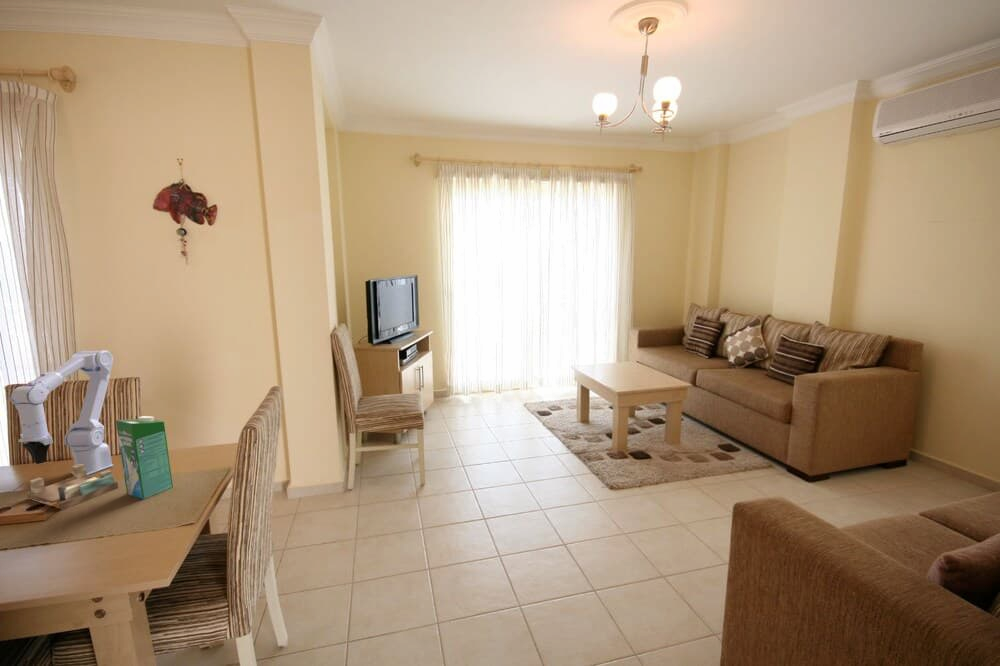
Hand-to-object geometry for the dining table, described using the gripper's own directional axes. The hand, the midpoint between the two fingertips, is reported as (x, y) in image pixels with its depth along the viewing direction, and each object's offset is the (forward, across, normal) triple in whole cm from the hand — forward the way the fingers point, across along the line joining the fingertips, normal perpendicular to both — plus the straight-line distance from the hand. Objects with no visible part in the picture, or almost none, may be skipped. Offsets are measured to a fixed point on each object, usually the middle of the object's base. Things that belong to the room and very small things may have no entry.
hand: (40, 462), depth 149 cm
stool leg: (+8, +17, +2) cm, 19 cm away
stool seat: (+10, +10, +3) cm, 14 cm away
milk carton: (+11, +32, +13) cm, 36 cm away
